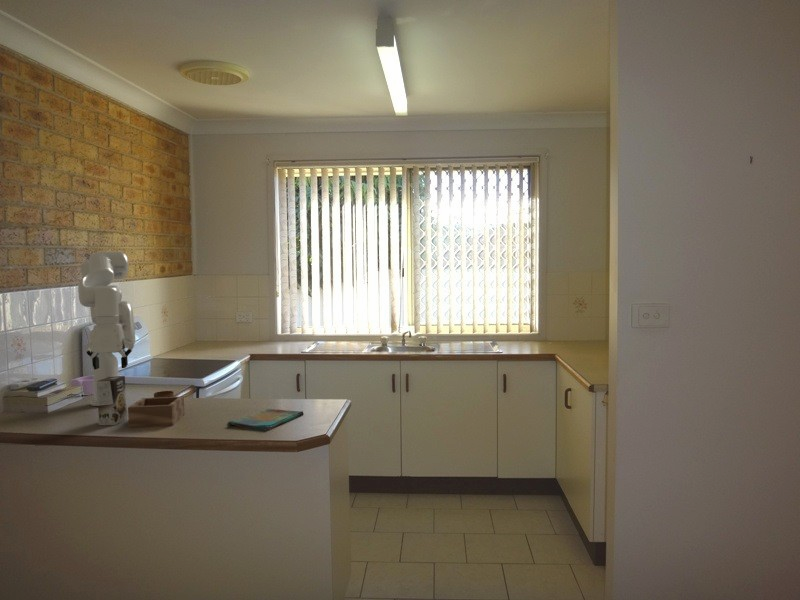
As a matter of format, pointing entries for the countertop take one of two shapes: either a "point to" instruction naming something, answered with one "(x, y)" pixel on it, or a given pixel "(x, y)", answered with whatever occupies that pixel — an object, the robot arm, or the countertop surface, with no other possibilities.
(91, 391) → the pink plastic container
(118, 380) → the coffee box
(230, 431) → the countertop surface
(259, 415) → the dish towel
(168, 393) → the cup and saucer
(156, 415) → the open wooden box
